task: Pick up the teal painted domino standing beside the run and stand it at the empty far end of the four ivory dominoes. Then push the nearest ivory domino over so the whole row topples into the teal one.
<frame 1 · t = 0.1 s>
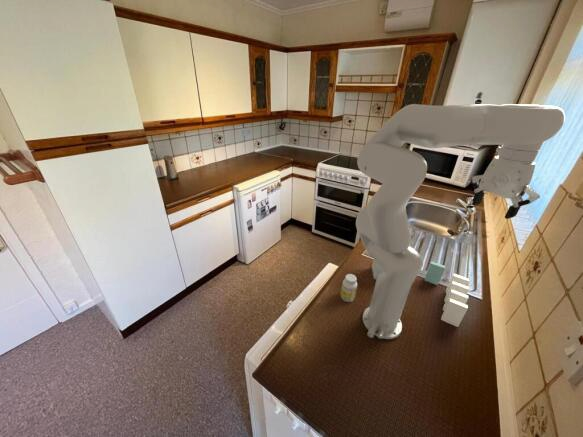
hand: (491, 210, 73), 37 cm above the countertop, tool pointing down, fingers open, 9 cm apart
domino 4: (452, 294, 92), on the countertop
domino 5: (431, 281, 98), on the countertop
domino 3: (451, 303, 89), on the countertop
domino 1: (449, 321, 81), on the countertop
supplement bottle: (347, 297, 91), on the countertop
domino 2: (450, 312, 85), on the countertop
small box: (379, 274, 102), on the countertop
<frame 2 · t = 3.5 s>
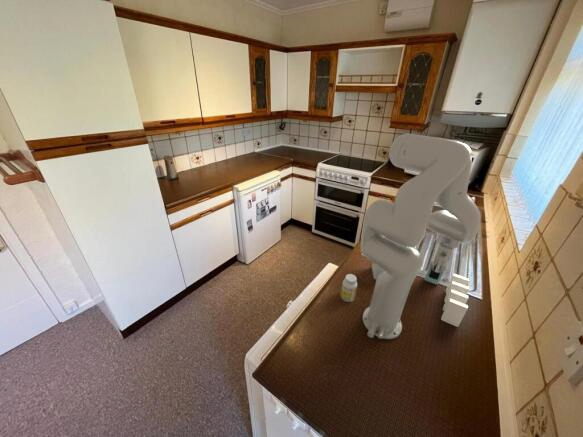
hand: (433, 276, 97), 3 cm above the countertop, tool pointing down, fingers closed on domino 5, 1 cm apart
domino 5: (431, 281, 98), on the countertop, touching gripper
everything else where it was.
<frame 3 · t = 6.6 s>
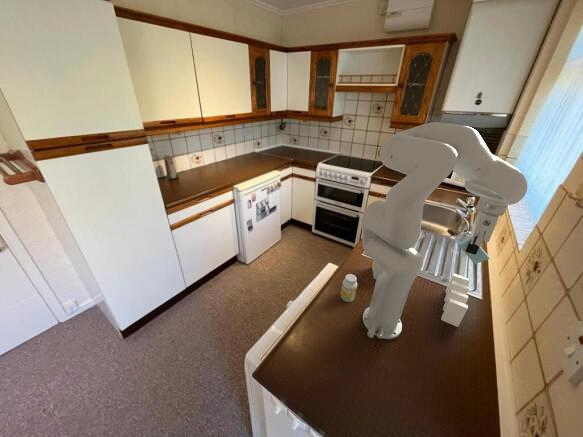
hand: (470, 251, 87), 18 cm above the countertop, tool pointing down, fingers closed on domino 5, 1 cm apart
domino 5: (482, 260, 86), point 15 cm above the countertop, tilted 51°, touching gripper
everything else where it was.
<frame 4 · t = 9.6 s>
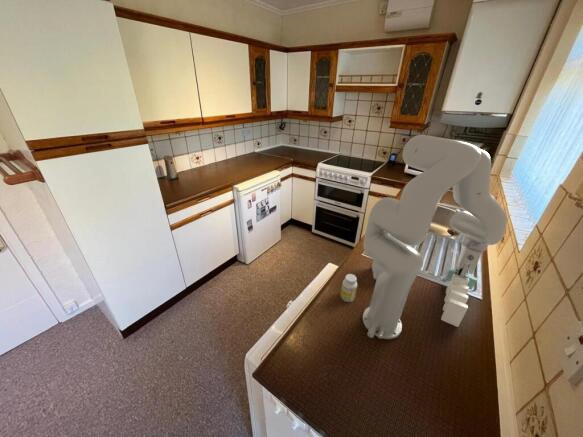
hand: (457, 280, 94), 4 cm above the countertop, tool pointing down, fingers closed on domino 5, 1 cm apart
domino 5: (474, 284, 91), point 5 cm above the countertop, tilted 86°, touching gripper
everything else where it was.
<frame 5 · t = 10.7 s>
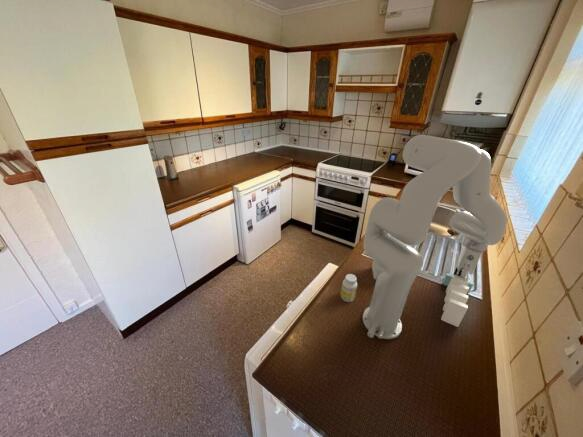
hand: (457, 279, 94), 4 cm above the countertop, tool pointing down, fingers open, 4 cm apart
domino 4: (453, 294, 92), on the countertop, tilted 5°
domino 5: (471, 288, 92), point 2 cm above the countertop, tilted 90°
everything else where it was.
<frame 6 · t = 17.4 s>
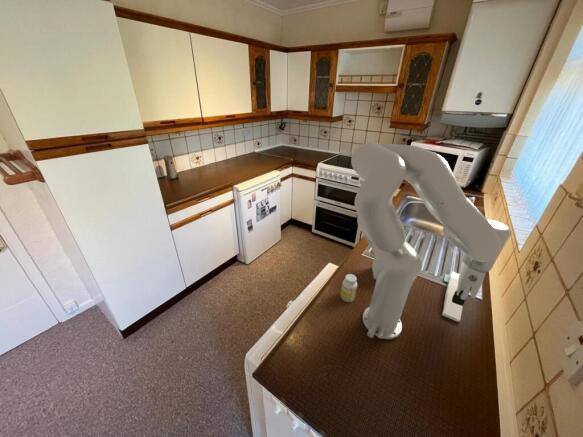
hand: (457, 302, 80), 7 cm above the countertop, tool pointing down, fingers closed
domino 4: (454, 290, 93), point 1 cm above the countertop, tilted 79°, touching domino 3, domino 5
domino 5: (469, 287, 96), on the countertop, tilted 90°, touching domino 4
domino 3: (452, 299, 89), point 1 cm above the countertop, tilted 72°, touching domino 2, domino 4
domino 1: (450, 317, 82), point 1 cm above the countertop, tilted 72°, touching domino 2
domino 2: (451, 308, 86), point 1 cm above the countertop, tilted 71°, touching domino 1, domino 3
everything else where it was.
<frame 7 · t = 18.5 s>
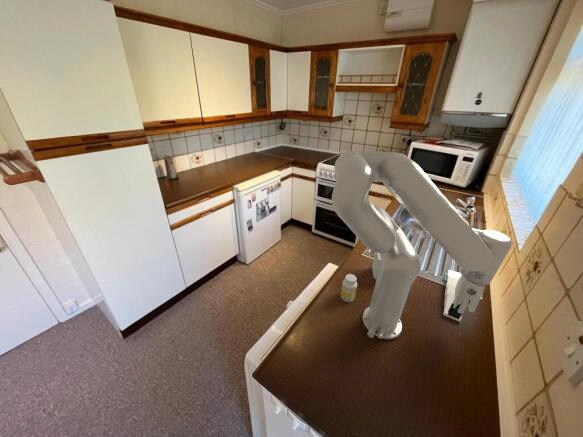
hand: (453, 315, 76), 6 cm above the countertop, tool pointing down, fingers closed
domino 4: (454, 288, 94), point 1 cm above the countertop, tilted 81°, touching domino 3
domino 5: (469, 286, 96), on the countertop, tilted 90°
domino 1: (451, 317, 82), point 1 cm above the countertop, tilted 72°, touching domino 2
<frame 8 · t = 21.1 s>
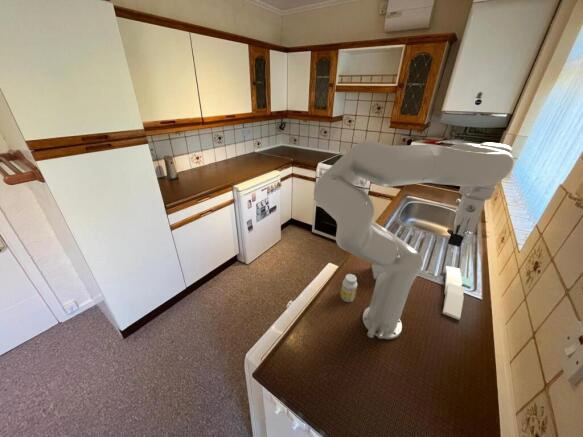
hand: (453, 244, 75), 27 cm above the countertop, tool pointing down, fingers closed
domino 4: (454, 284, 96), point 1 cm above the countertop, tilted 80°, touching domino 5
domino 5: (471, 285, 97), on the countertop, tilted 90°, touching domino 4
domino 3: (452, 295, 91), point 1 cm above the countertop, tilted 76°, touching domino 2
domino 1: (451, 315, 83), point 1 cm above the countertop, tilted 72°
domino 2: (452, 306, 86), point 1 cm above the countertop, tilted 73°, touching domino 3
everything else where it was.
at the end: domino 5 tilted 90°; domino 1 tilted 72°; domino 5 inside the target area (5.9 cm from its centre), on the countertop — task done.
